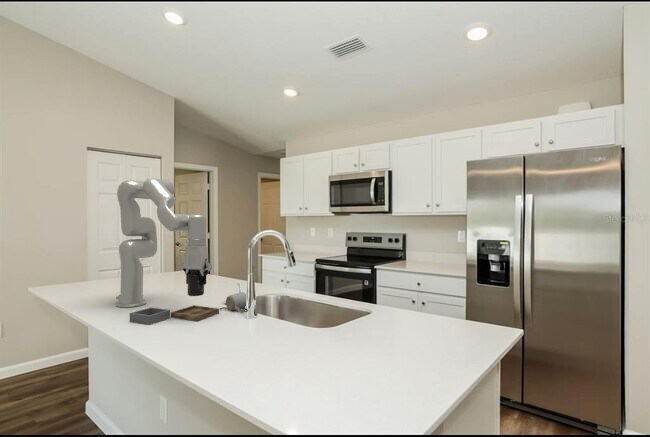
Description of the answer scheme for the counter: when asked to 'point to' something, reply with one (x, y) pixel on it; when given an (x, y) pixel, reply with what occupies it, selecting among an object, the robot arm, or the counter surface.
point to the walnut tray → (194, 313)
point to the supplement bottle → (195, 283)
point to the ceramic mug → (236, 302)
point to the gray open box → (149, 315)
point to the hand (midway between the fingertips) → (196, 283)
